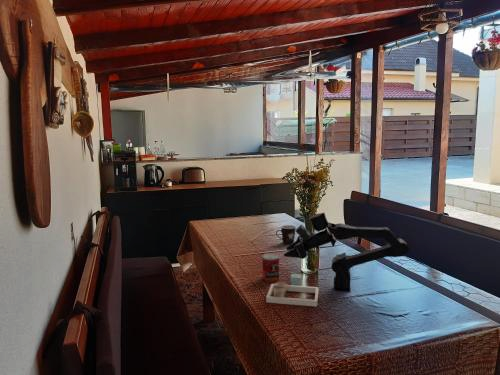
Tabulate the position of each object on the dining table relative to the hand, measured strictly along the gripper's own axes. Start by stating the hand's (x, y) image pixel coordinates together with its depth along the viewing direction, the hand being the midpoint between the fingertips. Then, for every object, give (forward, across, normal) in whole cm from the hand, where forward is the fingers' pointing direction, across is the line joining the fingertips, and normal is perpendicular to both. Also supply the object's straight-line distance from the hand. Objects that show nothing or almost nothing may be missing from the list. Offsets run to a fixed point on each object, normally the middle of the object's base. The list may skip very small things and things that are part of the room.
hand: (285, 252), depth 181 cm
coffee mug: (+13, -63, +11) cm, 65 cm away
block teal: (+2, 0, +16) cm, 16 cm away
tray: (+2, +13, +16) cm, 20 cm away
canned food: (+13, -5, +11) cm, 17 cm away
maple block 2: (+7, +16, +13) cm, 22 cm away
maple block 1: (+7, +10, +13) cm, 18 cm away
